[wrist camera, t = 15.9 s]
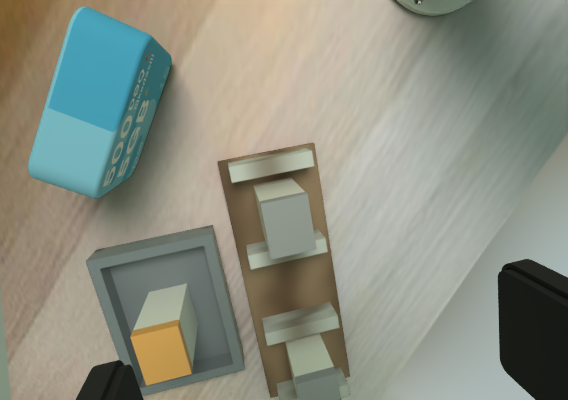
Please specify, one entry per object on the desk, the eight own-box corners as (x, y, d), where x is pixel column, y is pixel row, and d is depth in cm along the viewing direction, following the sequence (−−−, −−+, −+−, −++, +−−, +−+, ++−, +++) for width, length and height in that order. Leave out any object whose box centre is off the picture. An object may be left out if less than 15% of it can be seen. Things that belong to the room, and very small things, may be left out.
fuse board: (312, 142, 38) (321, 146, 35) (347, 371, 46) (358, 394, 42) (217, 161, 37) (217, 166, 34) (269, 392, 45) (273, 417, 41)
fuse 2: (316, 326, 43) (337, 373, 35) (322, 362, 44) (343, 415, 36) (283, 334, 42) (296, 384, 35) (290, 370, 44) (304, 426, 36)
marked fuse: (187, 283, 39) (177, 325, 31) (197, 323, 40) (191, 374, 33) (148, 292, 39) (130, 337, 31) (161, 332, 40) (146, 385, 32)
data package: (134, 175, 36) (92, 205, 25) (87, 158, 35) (20, 181, 24) (174, 58, 35) (149, 31, 23) (125, 36, 34) (74, -2, 22)
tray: (212, 225, 39) (211, 234, 36) (243, 352, 43) (244, 369, 40) (96, 250, 38) (85, 261, 35) (139, 378, 42) (132, 398, 39)
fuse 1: (290, 177, 38) (307, 194, 30) (298, 222, 39) (316, 249, 32) (253, 185, 38) (260, 204, 30) (262, 230, 39) (271, 259, 31)
